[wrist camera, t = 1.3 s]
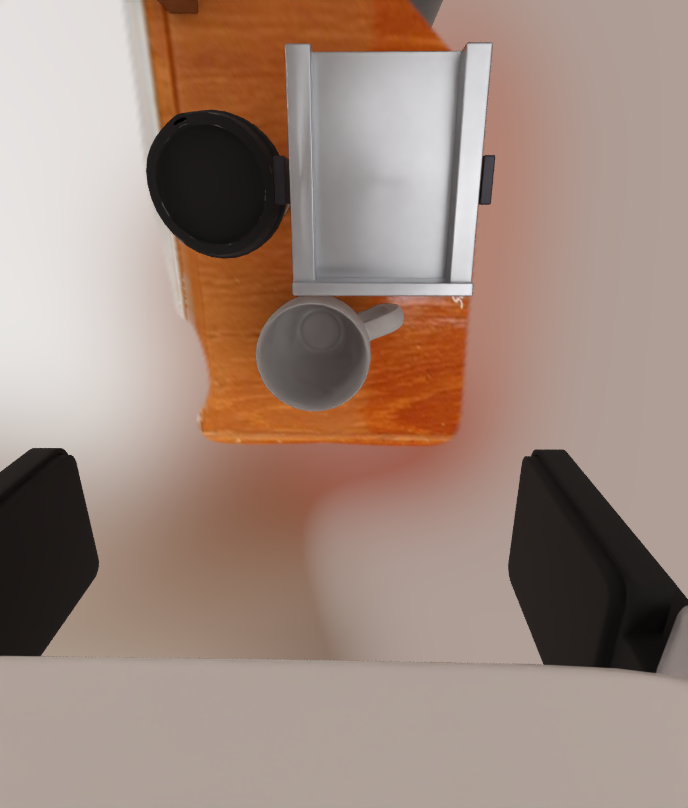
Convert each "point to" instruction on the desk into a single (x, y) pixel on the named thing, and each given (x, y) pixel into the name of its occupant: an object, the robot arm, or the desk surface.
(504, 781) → the robot arm
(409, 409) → the desk surface
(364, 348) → the mug
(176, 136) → the coffee cup
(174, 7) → the key
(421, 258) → the silver letter tray
